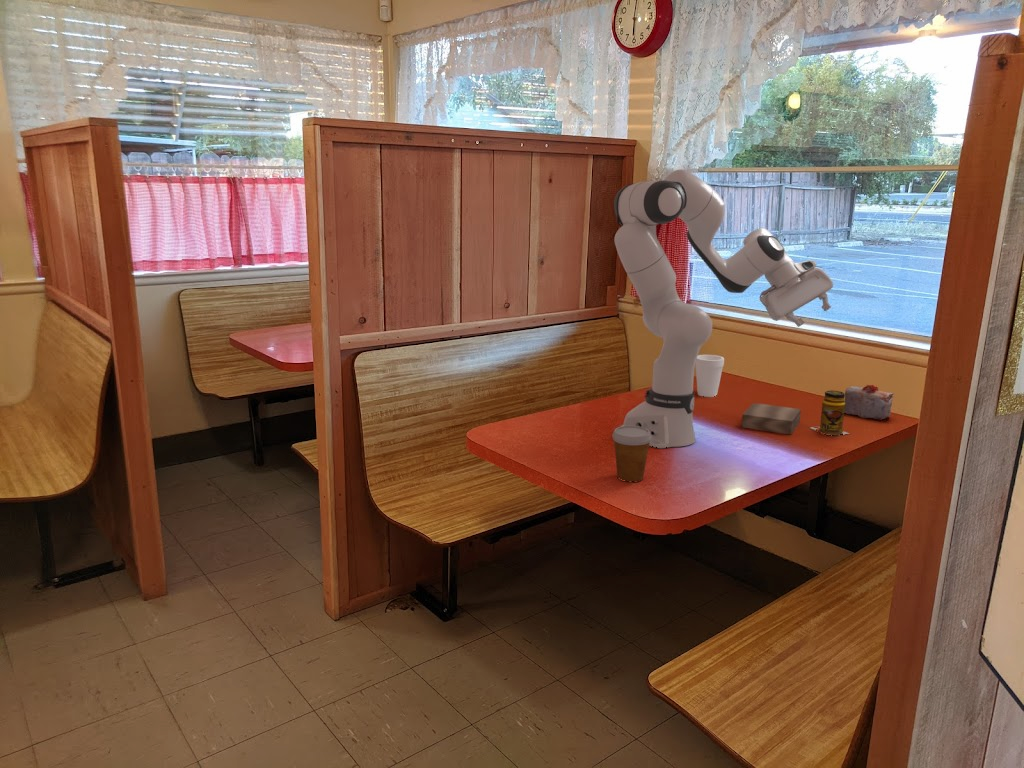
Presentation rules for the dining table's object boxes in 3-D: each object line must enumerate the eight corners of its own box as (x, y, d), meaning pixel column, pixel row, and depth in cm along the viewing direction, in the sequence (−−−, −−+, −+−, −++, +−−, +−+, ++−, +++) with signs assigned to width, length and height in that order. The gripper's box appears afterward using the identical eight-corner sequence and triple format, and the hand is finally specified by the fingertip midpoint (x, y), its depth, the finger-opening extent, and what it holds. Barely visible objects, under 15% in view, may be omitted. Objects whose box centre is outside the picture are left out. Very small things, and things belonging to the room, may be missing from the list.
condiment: (828, 436, 213) (833, 396, 210) (808, 428, 221) (812, 388, 218) (849, 434, 215) (854, 394, 212) (829, 425, 223) (833, 386, 220)
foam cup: (691, 390, 262) (693, 354, 258) (717, 391, 261) (720, 354, 258) (696, 398, 253) (698, 360, 249) (724, 398, 252) (726, 360, 249)
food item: (893, 417, 232) (897, 386, 229) (886, 423, 226) (890, 391, 223) (847, 409, 240) (851, 379, 238) (839, 414, 234) (843, 384, 232)
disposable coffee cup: (645, 470, 188) (647, 424, 185) (653, 484, 179) (656, 437, 176) (607, 470, 188) (609, 425, 185) (614, 485, 179) (615, 437, 176)
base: (741, 427, 222) (742, 414, 221) (752, 415, 234) (753, 402, 233) (791, 434, 215) (792, 421, 214) (799, 421, 227) (800, 409, 226)
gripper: (760, 290, 210) (789, 330, 207) (818, 257, 213) (848, 296, 210) (752, 299, 216) (781, 338, 213) (809, 266, 219) (838, 304, 216)
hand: (814, 317), depth 211 cm, fingers open, 8 cm apart
